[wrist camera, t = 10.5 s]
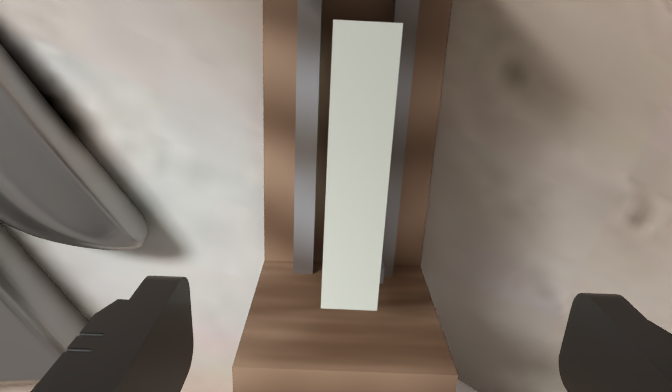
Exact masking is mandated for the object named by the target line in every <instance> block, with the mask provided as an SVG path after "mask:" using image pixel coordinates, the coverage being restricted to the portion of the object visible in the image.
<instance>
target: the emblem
mask: <svg viewBox="0 0 672 392" xmlns="http://www.w3.org/2000/svg"><path fill="white" fill-rule="evenodd" d="M0 221H2V222H4V223H6V224H8V225H9V226H11V227H13V228H16V229H18V230H20V231H22V232H25V233H27V234H30V235H33V236H36V237H39V238H42V239H46V240H49V241H54V242H58V243H62V244H67V245H72V246H78V247H84V248H93V249H103V250H129V249H135V248H138V247H141V246H142V245H144V243H145V240H146V238H147V235H148V231H149V230H148V225H147V223H146V221H145V219H144V217H143V216H142V214H141V213H140V212H139V210H138V209H137V208H136V207H135V206H134V204H133V203H132V202H131V201H130V200H129V198H128V197H127V196H126V195H125V194H124V192H123V191H122V190H121V189H120V188H119V187H118V185H117V184H116V183H115V182H114V181H113V180H112V178H111V177H110V176H109V175H108V174H107V173H106V171H105V170H104V169H103V168H102V167H101V165H100V164H99V163H98V162H97V161H96V160H95V158H94V157H93V156H92V155H91V154H90V152H89V151H88V150H87V149H86V148H85V147H84V145H83V144H82V143H81V142H80V141H79V139H78V138H77V137H76V136H75V135H74V133H73V132H72V131H71V130H70V129H69V127H68V126H67V125H66V124H65V122H64V121H63V120H62V119H61V118H60V116H59V115H58V114H57V113H56V112H55V110H54V109H53V108H52V107H51V105H50V104H49V103H48V102H47V101H46V99H45V98H44V97H43V96H42V94H41V93H40V92H39V91H38V89H37V88H36V87H35V86H34V85H33V83H32V82H31V81H30V80H29V78H28V77H27V76H26V75H25V73H24V72H23V71H22V70H21V68H20V67H19V66H18V65H17V64H16V62H15V61H14V60H13V59H12V57H11V56H10V55H9V54H8V52H7V51H6V50H5V49H4V47H3V46H2V45H1V44H0ZM88 322H89V321H88V320H87V319H86V318H85V317H84V316H83V315H82V313H81V312H80V311H79V310H78V309H77V308H76V307H75V306H74V305H73V303H72V302H71V301H70V300H69V299H68V298H67V297H66V296H65V295H64V293H63V292H62V291H61V290H60V289H59V288H58V287H57V286H56V285H55V283H54V282H53V281H52V280H51V279H50V278H49V277H48V276H47V274H46V273H45V272H44V271H43V270H42V269H41V268H40V267H39V266H38V264H37V263H36V262H35V261H34V260H33V259H32V258H31V257H30V256H29V254H28V253H27V252H26V251H25V250H24V249H23V248H22V247H21V246H20V244H19V243H18V242H17V241H16V240H15V239H14V238H13V237H12V236H11V234H10V233H9V232H8V231H7V230H6V229H5V228H4V227H3V226H2V224H1V223H0V386H14V385H28V384H37V383H38V382H39V381H40V380H41V379H42V377H43V376H44V375H45V374H46V373H47V371H48V370H49V369H50V368H51V367H52V365H53V364H54V363H55V362H56V361H57V359H58V358H59V357H60V356H61V354H62V353H63V352H66V351H67V347H68V346H69V345H70V344H71V342H72V341H73V340H74V339H75V338H76V336H79V335H80V332H81V330H82V329H83V328H84V327H85V325H86V324H87V323H88Z"/></svg>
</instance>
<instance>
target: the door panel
mask: <svg viewBox="0 0 672 392" xmlns="http://www.w3.org/2000/svg"><path fill="white" fill-rule="evenodd" d="M402 31H403V23H390V22H371V21H351V20H333V37H332V60H331V83H330V106H329V129H328V152H327V175H326V198H325V221H324V244H323V267H322V290H321V308H324V309H348V310H372V311H377V305H378V294H379V283H381V284H383V279H384V263H383V258H382V250H383V239H384V228H385V217H386V206H387V195H388V184H389V173H390V162H391V151H392V140H393V129H394V118H395V107H396V96H397V85H398V74H399V63H400V52H401V41H402Z"/></svg>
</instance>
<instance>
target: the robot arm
mask: <svg viewBox="0 0 672 392" xmlns="http://www.w3.org/2000/svg"><path fill="white" fill-rule="evenodd" d="M192 355H193V329H192V315H191V301H190V288H189V282H188V280H187V278H186V277H170V276H147V277H146V278H145V279H144V280H143V282H142V283H141V284H140V286H139V287H138V288H137V290H136V291H135V292H134V294H133V295H132V296H131V298H130V299H129V300H123V299H118V300H116V301H115V302H113V303H112V304H110V305H108V306H107V307H105V308H104V309H102V310H101V311H99V312H97V313H96V314H95V315H94V316H93V317H92V318H91V319H90V321H89V322H88V323H87V324H86V325H85V327H84V328H83V329H82V330H81V332H80V335H79V336H76V338H75V339H74V340H73V341H72V342H71V344H70V345H69V346H68V347H67V351H66V352H63V353H62V354H61V356H60V357H59V358H58V359H57V361H56V362H55V363H54V364H53V365H52V367H51V368H50V369H49V370H48V371H47V373H46V374H45V375H44V376H43V377H42V379H41V380H40V381H39V382H38V383H37V385H36V386H35V387H34V388H33V390H32V391H31V392H180V391H181V389H182V387H183V384H184V382H185V379H186V377H187V375H188V372H189V369H190V365H191V361H192ZM559 371H560V376H561V379H562V382H563V384H564V386H565V388H566V390H567V391H568V392H672V334H671V333H669V332H667V331H666V330H664V329H662V328H661V327H659V326H657V325H656V324H654V323H652V322H651V321H649V320H647V319H646V318H645V317H644V316H643V315H642V314H641V313H640V312H639V311H638V310H637V309H635V308H634V307H633V306H632V305H631V304H630V303H629V302H628V301H627V300H626V299H625V298H624V297H622V296H621V295H617V294H593V293H580V294H578V295H577V296H576V297H575V298H574V300H573V303H572V307H571V311H570V314H569V318H568V322H567V326H566V330H565V334H564V338H563V342H562V346H561V350H560V354H559Z"/></svg>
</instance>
